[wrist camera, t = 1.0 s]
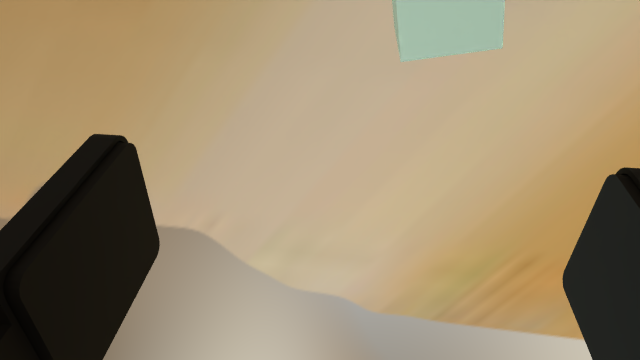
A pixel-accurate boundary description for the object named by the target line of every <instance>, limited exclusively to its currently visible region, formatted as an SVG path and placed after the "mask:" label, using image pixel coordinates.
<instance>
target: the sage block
mask: <svg viewBox="0 0 640 360" xmlns="http://www.w3.org/2000/svg"><path fill="white" fill-rule="evenodd" d="M392 4H393V17H394V27H395V33H396V38H397V44H398V49H399V55H400V61H401V62H404V61H412V60H419V59H427V58H434V57H442V56H449V55H456V54H464V53H471V52H479V51H486V50H493V49H501V48H502V47H503V27H504V7H505V0H392Z"/></svg>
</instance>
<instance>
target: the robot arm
mask: <svg viewBox="0 0 640 360" xmlns="http://www.w3.org/2000/svg"><path fill="white" fill-rule="evenodd" d="M158 251H159V236H158V233H157V229H156V225H155V221H154V217H153V213H152V209H151V205H150V201H149V197H148V193H147V189H146V185H145V181H144V178H143V174H142V170H141V166H140V162H139V158H138V154H137V150H136V147H135V146H134V144H132V143H128V141H127V139H126V138H125V137H123V136H120V135H104V134H93V135H92V136H90V137H89V138H88V139H87V140H86V141H85V142H84V144H83V145H82V146H81V147H80V148H79V149H78V150H77V151H76V152H75V153H74V154H73V155H72V156H71V157H70V158H69V159H68V160H67V161H66V162H65V163H64V164H63V165H62V167H61V168H60V169H59V170H58V171H57V172H56V173H55V174H54V175H53V176H52V177H51V178H50V179H49V180H48V181H47V182H46V183H45V184H44V185H43V186H42V187H41V189H40V190H39V191H38V192H37V193H36V194H35V195H34V196H33V197H32V198H31V199H30V200H29V201H28V202H27V203H26V204H25V205H24V206H23V207H22V208H21V209H20V210H19V212H18V213H17V214H16V215H15V216H14V217H13V218H12V219H11V220H10V221H9V222H8V223H7V224H6V225H5V226H4V227H3V228H2V229H1V230H0V360H103V358H104V356H105V354H106V352H107V350H108V348H109V347H110V344H111V343H112V341H113V339H114V337H115V335H116V333H117V331H118V329H119V328H120V326H121V324H122V322H123V320H124V318H125V316H126V314H127V312H128V310H129V308H130V307H131V305H132V303H133V301H134V299H135V297H136V295H137V293H138V291H139V289H140V288H141V286H142V284H143V282H144V280H145V278H146V276H147V274H148V272H149V270H150V269H151V267H152V265H153V263H154V261H155V259H156V257H157V255H158ZM563 287H564V291H565V293H566V296H567V298H568V300H569V303H570V305H571V308H572V310H573V313H574V315H575V318H576V320H577V322H578V325H579V327H580V330H581V332H582V335H583V337H584V340H585V342H586V344H587V347H588V349H589V352H590V354H591V357H592V359H593V360H640V169H639V168H622V169H620V170H619V171H618V172H617V173H616V174H612V175H609V176H608V177H607V179H606V180H605V182H604V184H603V187H602V189H601V191H600V193H599V195H598V198H597V200H596V202H595V204H594V206H593V209H592V211H591V213H590V215H589V217H588V220H587V222H586V224H585V226H584V228H583V231H582V233H581V235H580V237H579V239H578V242H577V244H576V246H575V248H574V250H573V253H572V255H571V257H570V259H569V261H568V264H567V266H566V268H565V270H564V273H563Z"/></svg>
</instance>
